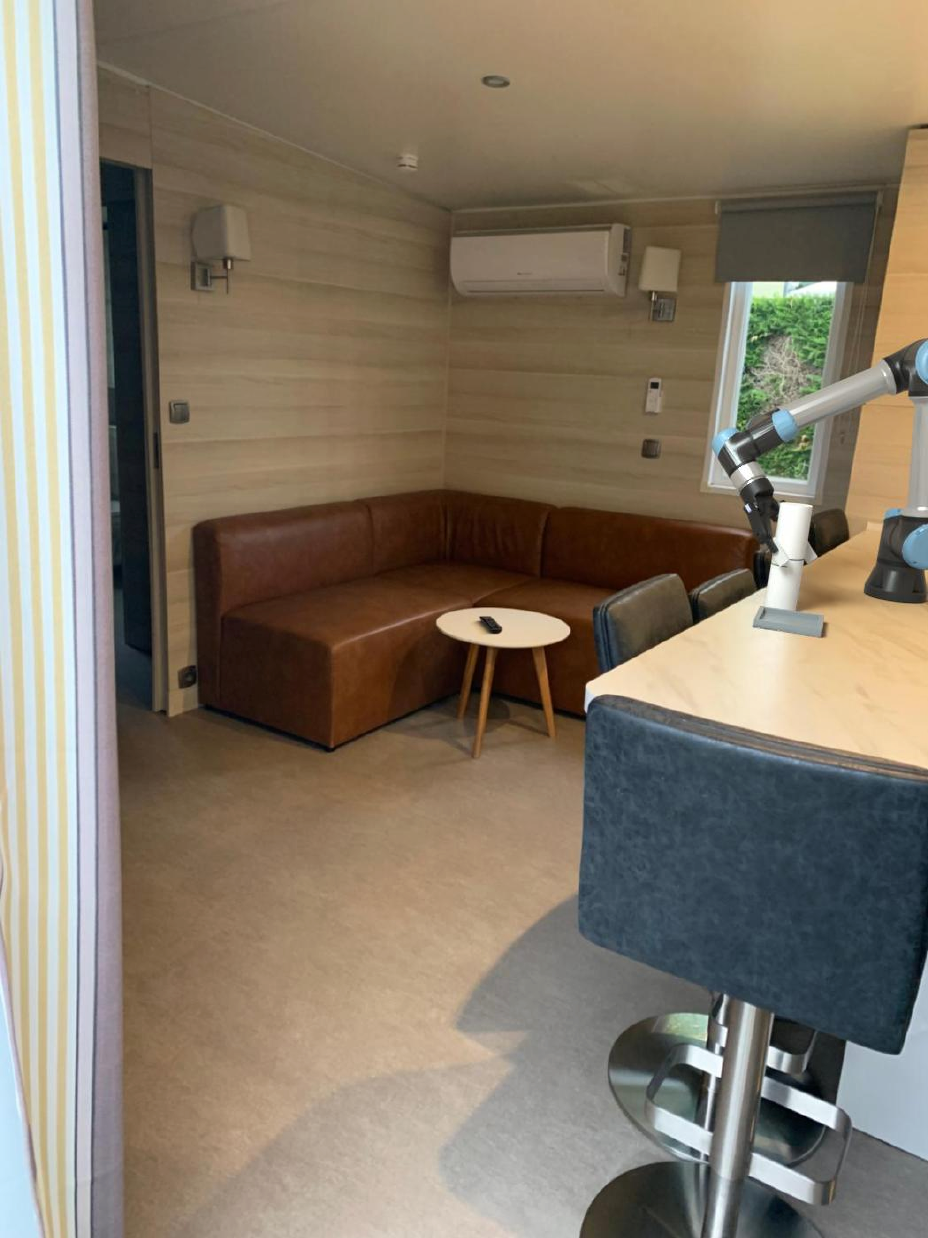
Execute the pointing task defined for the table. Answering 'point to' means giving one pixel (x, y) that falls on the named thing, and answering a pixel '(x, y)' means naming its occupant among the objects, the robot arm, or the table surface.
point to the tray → (789, 621)
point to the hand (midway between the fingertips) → (798, 562)
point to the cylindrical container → (789, 555)
